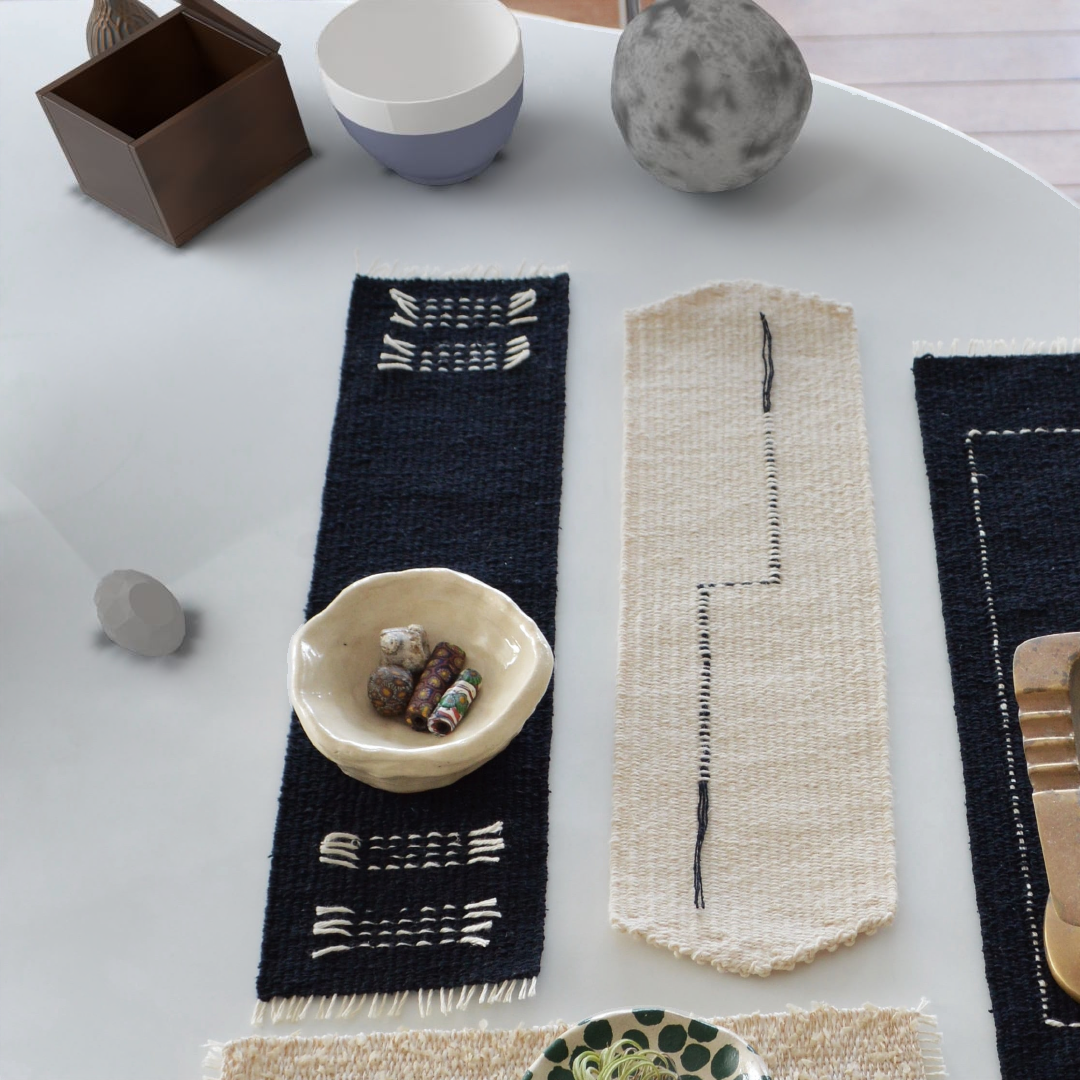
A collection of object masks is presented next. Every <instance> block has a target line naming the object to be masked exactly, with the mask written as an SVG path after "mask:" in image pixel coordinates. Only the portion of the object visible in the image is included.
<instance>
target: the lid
mask: <svg viewBox="0 0 1080 1080" xmlns="http://www.w3.org/2000/svg"><path fill="white" fill-rule="evenodd" d="M173 1H174V2H176V3H177V4H179V5H183V6H185V7H187V8H189V9H191V10H193V11H195V12H197V13H199V14H201V15H203V16H204V17H206V18H208V19H210V20H212V21H214V22H216V23H218V24H220V25H222V26H224V27H226V28H228V29H230V30H232V31H234V32H236V33H238V34H240V35H242V36H244V37H246V38H248V39H249V40H251V41H253V42H255V43H257V44H259V45H261V46H263V47H265V48H267V49H269V50H271V51H273V52H275V53H278V54H279V51H280V49H281V46H282V43H281V42H279V41H278V40H276V39H274V38H273V37H271V36H270V35H268V34H267V33H266V32H264V31H262V30H261V29H260V28H258V27H256V26H254V25H253V24H251V23H250V22H248V21H246V20H245V19H243V18H242V17H241V16H239V15H238V14H235V12H232V11H231V10H229V9H228V8H227V7H225V6H224V5H222V4H220V3H219V2H217V1H215V0H173Z"/></svg>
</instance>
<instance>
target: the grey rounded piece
mask: <svg viewBox="0 0 1080 1080" xmlns="http://www.w3.org/2000/svg"><path fill="white" fill-rule="evenodd" d="M93 602H94V605H95V607H96V614H97V619H98V621H99V622H100V624H101V626H102V627H103V630H104V632H105V633H106V635H107V637H108V639H109V640H111V641H112V642H114V643H116V644H118V645H119V646H121V647H122V648H124V649H127V650H130V651H132V652H134V653H137V654H139V655H141V656H145V657H147V656H149V657H150V656H151V657H159V658H160V657H163V656H166V655H169V654H172V653H175V651H176V650H177V649H178V648H180V647H181V645H182V642H183V641H184V638H185V636H186V633H187V629H186V616H185V613H184V611H183V608H182V606H181V604H180V602H179V600H178V599H177V597H176V596H175V595H174V593H172V591H171V590H169V588H168V587H167V586H166V585H165V584H163V583H162V582H161V581H159V579H156V578H155V577H153V576H152V575H150V574H147V573H145V572H143V571H142V572H141V571H138V570H136V569H132V568H129V569H114V570H113V571H110V572H108V573H107V574H105V575H104V576H102V577H101V578H100V580H99V581H98V583H97V584H96V586H95V593H94V597H93Z"/></svg>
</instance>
